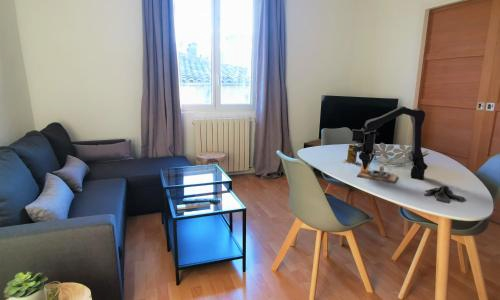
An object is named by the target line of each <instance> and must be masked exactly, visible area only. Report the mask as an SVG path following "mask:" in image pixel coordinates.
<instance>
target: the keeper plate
mask: <svg viewBox="0 0 500 300" xmlns="http://www.w3.org/2000/svg"><path fill="white" fill-rule="evenodd" d="M368 171H372V170H371V169H368ZM378 171H379V173H374V174H378V175H384V176H385V174H384V172H385V167H384V166H383V165H381V166H379V170H378ZM356 177H357V178H363V179H368V180H369V179H370V180H374V181H380V182H385V183H386V182H387V183H391V184H394V183H396V180H397V179H398V174H395V173H389V175H388V177H387V178H380V177H374V176H370V174H368V173H362V172H361V170H359V172H358V173H357V174H356Z"/></svg>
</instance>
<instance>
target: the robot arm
mask: <svg viewBox="0 0 500 300" xmlns="http://www.w3.org/2000/svg"><path fill="white" fill-rule="evenodd" d="M403 115H407V116H409V117H410V118H409V119H410V121H411V124H412V139H411V140H412V141H411V143H412V144H411V145H412V146H411V147H412V148H411V151H408V152H407V154H408V155H407V156H408V157H407V159H408V160H409V162H410V163H411V165H412V168H411V169H410V178H411V179H416V180H417V179H418V180H425V179H424V178H425V173H426V170H427V168H428V165H427V164H426V162H425V159H424V155H423V151H422V133H423V131H422V130H423V129H422V128H423V127H422V126H423V124H424V122H425V118H426V112H425V111H424V110H423V109H418V108H413V109H411V108H408V107H406V106H403V105H400V106H399V107H397V108H395V109H393V110H390V111H389V112H387V113H385V114H383V115H381V116H377V117H375V118H370V119H368V120H366V121H365V123H364V125H363V126H362V128H360V129H352V130H351V134H350V142H363V143H362V144H360V145H357V146H354V147H353V151H354V153H356V152H357V153H359V152H360V153H359V154H358V159H359V160H361V163H363V168H364V169H366V168H367V166H368V164H369V166H370V165H371V163H372V161H373V160H374V158H375V156H376V154H377V149H376V148H375V146H376V145H375V144H376V143H375V139H376V135H377V136H379V135H380V133H379V132H378V131H377V130H378V129H379V128H380V127H381V126H382V125H384V124H385V123H387V122H389V121H391V120H394V119H395V118H397V117H401V116H403Z"/></svg>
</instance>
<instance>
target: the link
mask: <svg viewBox="0 0 500 300" xmlns="http://www.w3.org/2000/svg"><path fill="white" fill-rule="evenodd" d="M360 164H361V166H360V171H361V172H362V173H368V174H370V176H374V177H380V178H387V177H388V175H389V174H390V172H387V171H384V174H385V176H384V175H378V174H374V173H379V170H376V169H372V170H371V171H368V170H370V169H369V168H370V165H369V164H368V166H367V168H366V169H364V168H363V163H362V162H361V163H360Z"/></svg>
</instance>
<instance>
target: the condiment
mask: <svg viewBox="0 0 500 300" xmlns="http://www.w3.org/2000/svg"><path fill="white" fill-rule="evenodd" d="M354 146H358V145H357V144H354V143H353V144H352V143H350V144H349V145H348V148H347V156H346V157H347V159H344V160H343V162H342V163H348V164H353V165H354V164H355V165H356V164H357V163H358V160H357V156H358V152H356V153H354V151H353V147H354Z"/></svg>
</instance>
